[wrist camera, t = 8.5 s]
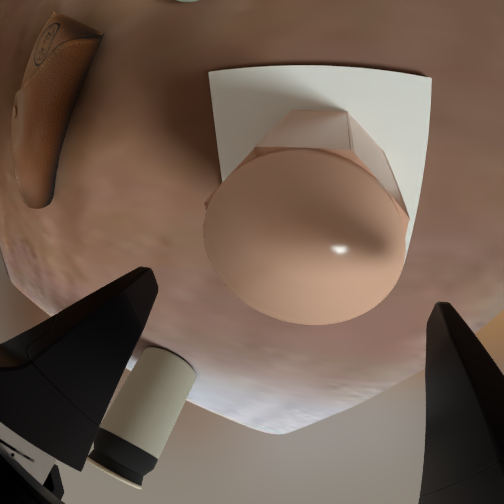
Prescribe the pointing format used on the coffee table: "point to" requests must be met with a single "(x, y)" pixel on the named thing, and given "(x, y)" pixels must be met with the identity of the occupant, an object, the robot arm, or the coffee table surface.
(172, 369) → the travel mug
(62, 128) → the sunglasses case
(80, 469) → the robot arm
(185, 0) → the pale green marble
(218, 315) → the coffee table surface
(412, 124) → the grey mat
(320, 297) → the terracotta cup
